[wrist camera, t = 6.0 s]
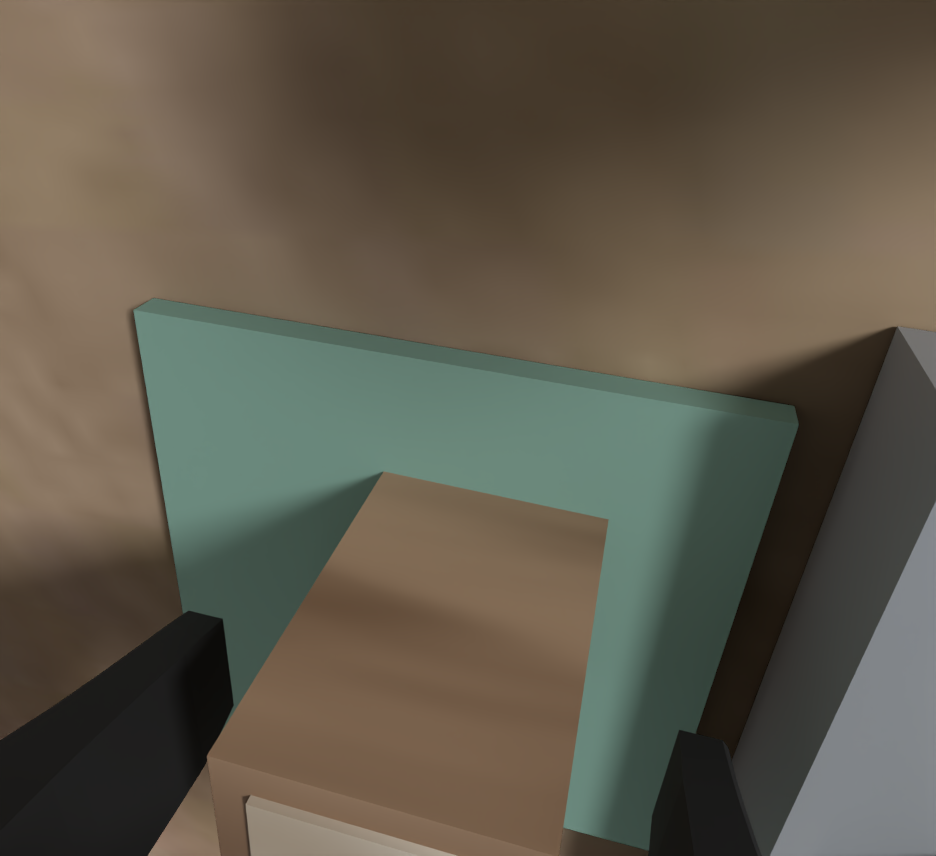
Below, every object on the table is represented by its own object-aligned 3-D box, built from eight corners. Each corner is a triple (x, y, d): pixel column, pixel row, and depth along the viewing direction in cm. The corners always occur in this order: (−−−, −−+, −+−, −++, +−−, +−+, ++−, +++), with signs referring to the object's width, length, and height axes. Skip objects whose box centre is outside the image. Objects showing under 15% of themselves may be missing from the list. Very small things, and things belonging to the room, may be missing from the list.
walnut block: (572, 681, 15) (512, 1041, 10) (378, 633, 16) (227, 948, 11) (608, 519, 13) (556, 868, 8) (383, 471, 14) (201, 764, 9)
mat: (656, 827, 18) (655, 852, 17) (214, 710, 19) (202, 729, 19) (794, 405, 12) (799, 424, 11) (153, 298, 14) (133, 309, 13)
